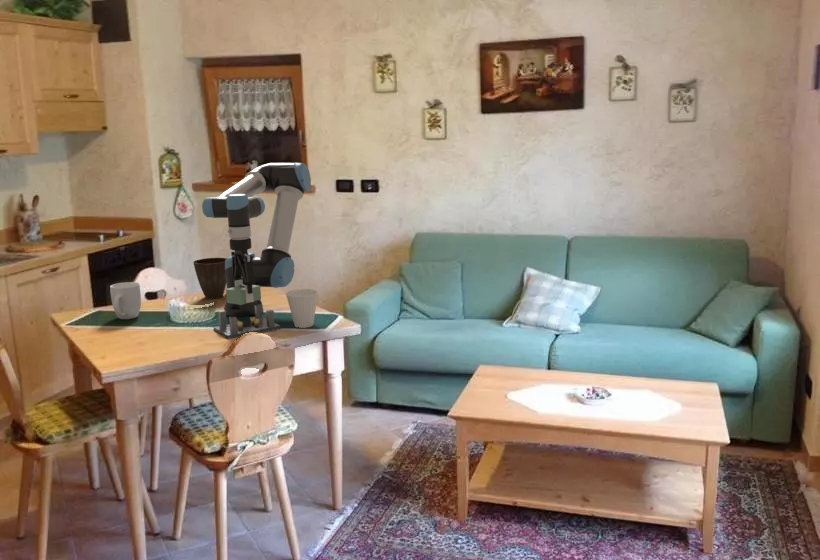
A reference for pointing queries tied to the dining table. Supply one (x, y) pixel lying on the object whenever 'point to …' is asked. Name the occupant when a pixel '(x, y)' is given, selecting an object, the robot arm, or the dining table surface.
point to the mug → (126, 299)
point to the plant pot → (211, 276)
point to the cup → (302, 306)
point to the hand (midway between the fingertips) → (244, 299)
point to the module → (241, 294)
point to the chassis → (246, 324)
